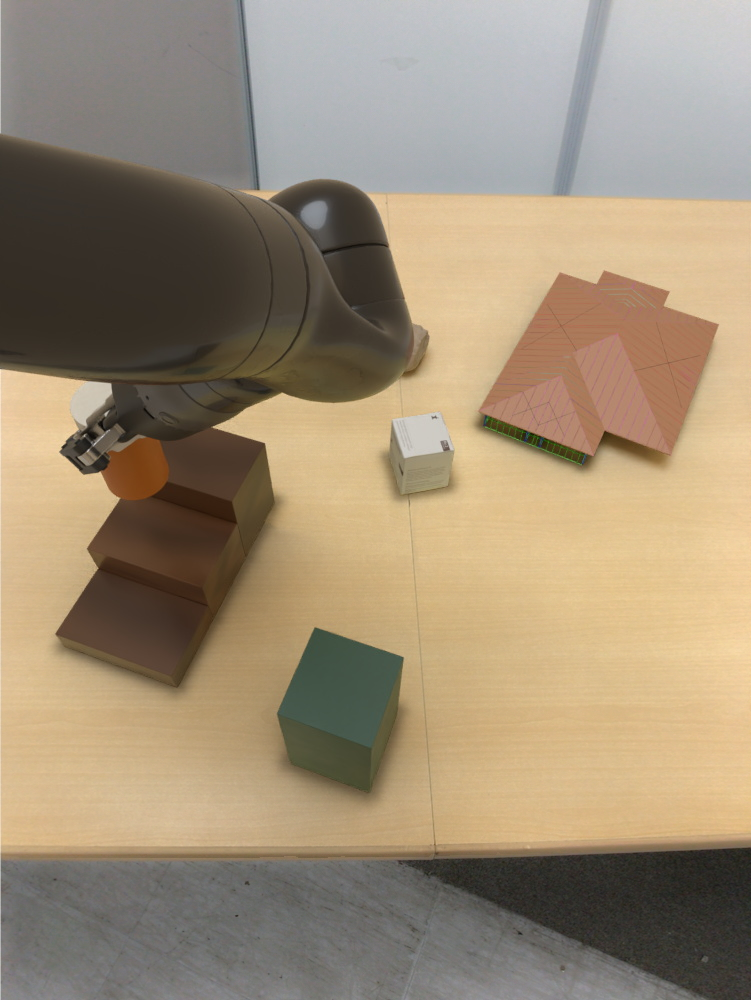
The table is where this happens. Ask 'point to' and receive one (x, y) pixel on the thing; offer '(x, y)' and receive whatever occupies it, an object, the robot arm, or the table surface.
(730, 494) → the table surface
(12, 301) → the robot arm
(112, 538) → the riser
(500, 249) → the table surface
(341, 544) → the table surface
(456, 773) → the table surface
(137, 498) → the amber bottle
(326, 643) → the stand
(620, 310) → the house
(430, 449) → the product carton
